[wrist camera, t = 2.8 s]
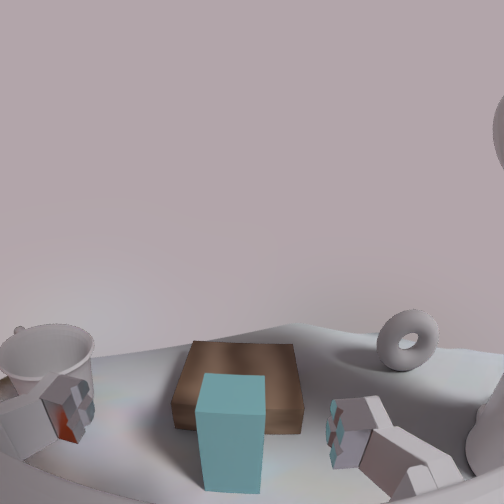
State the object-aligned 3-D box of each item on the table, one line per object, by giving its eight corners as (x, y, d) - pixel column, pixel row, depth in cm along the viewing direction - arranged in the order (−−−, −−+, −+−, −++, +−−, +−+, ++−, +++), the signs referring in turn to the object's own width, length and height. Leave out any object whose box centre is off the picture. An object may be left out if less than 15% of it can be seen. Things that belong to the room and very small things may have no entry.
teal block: (259, 456, 28) (264, 375, 26) (259, 493, 23) (265, 415, 21) (210, 454, 28) (204, 372, 26) (205, 490, 23) (194, 411, 21)
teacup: (65, 370, 39) (50, 308, 37) (131, 415, 33) (116, 345, 30) (1, 401, 29) (-23, 336, 27) (56, 466, 22) (20, 394, 20)
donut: (372, 376, 42) (386, 314, 40) (368, 363, 45) (380, 304, 43) (432, 374, 41) (449, 314, 38) (425, 362, 44) (440, 305, 42)
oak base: (290, 367, 45) (292, 344, 44) (300, 434, 32) (304, 408, 31) (194, 363, 45) (193, 340, 44) (174, 428, 32) (170, 402, 31)
